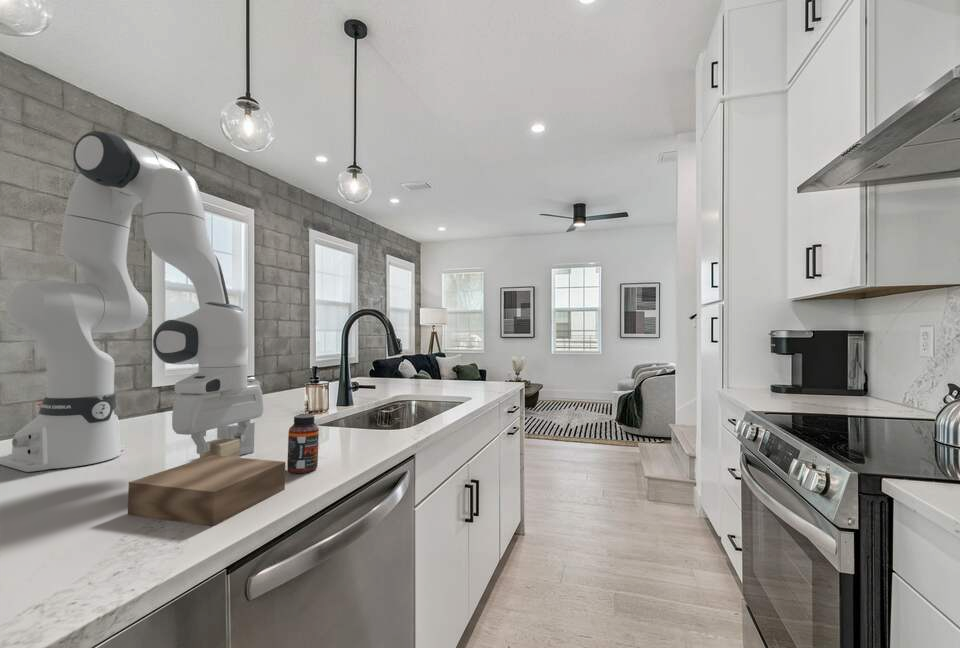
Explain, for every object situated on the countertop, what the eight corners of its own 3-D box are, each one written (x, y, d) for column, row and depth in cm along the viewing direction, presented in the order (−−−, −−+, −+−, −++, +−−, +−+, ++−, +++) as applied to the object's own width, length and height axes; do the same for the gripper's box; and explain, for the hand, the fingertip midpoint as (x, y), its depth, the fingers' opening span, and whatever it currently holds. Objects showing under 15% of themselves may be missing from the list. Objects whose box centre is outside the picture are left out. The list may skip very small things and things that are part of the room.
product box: (254, 452, 105) (255, 421, 105) (227, 458, 100) (228, 425, 100) (242, 448, 108) (243, 418, 108) (215, 453, 103) (216, 422, 103)
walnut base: (127, 514, 68) (128, 482, 68) (211, 481, 84) (212, 455, 84) (213, 526, 65) (214, 491, 65) (284, 489, 80) (285, 461, 80)
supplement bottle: (307, 475, 88) (308, 419, 89) (280, 473, 90) (282, 417, 90) (323, 466, 94) (324, 413, 95) (298, 464, 95) (299, 412, 96)
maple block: (199, 473, 89) (200, 443, 89) (219, 466, 94) (219, 438, 94) (219, 475, 88) (220, 445, 88) (238, 468, 93) (239, 439, 93)
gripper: (247, 375, 102) (246, 435, 101) (166, 385, 82) (165, 459, 82) (271, 376, 100) (270, 436, 100) (194, 385, 80) (193, 461, 80)
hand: (222, 447), depth 91 cm, fingers open, 8 cm apart
